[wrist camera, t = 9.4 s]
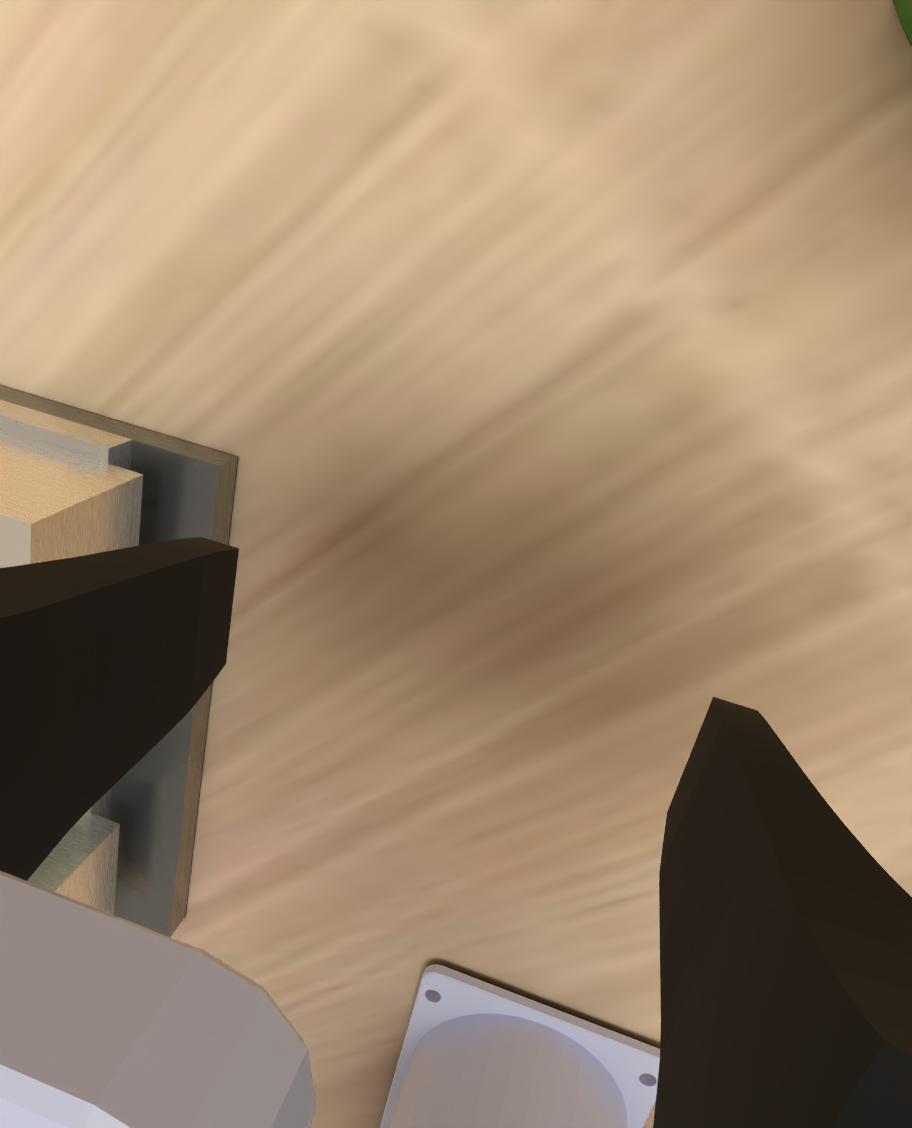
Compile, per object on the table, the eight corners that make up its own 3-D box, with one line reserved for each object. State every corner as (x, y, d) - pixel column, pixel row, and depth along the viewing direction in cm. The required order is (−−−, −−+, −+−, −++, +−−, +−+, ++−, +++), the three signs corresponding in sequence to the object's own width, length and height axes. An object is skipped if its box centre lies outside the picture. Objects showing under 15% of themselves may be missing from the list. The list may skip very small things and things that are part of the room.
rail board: (185, 916, 29) (71, 1070, 24) (-38, 829, 31) (-193, 956, 25) (237, 457, 23) (95, 527, 17) (-52, 369, 24) (-269, 409, 18)
